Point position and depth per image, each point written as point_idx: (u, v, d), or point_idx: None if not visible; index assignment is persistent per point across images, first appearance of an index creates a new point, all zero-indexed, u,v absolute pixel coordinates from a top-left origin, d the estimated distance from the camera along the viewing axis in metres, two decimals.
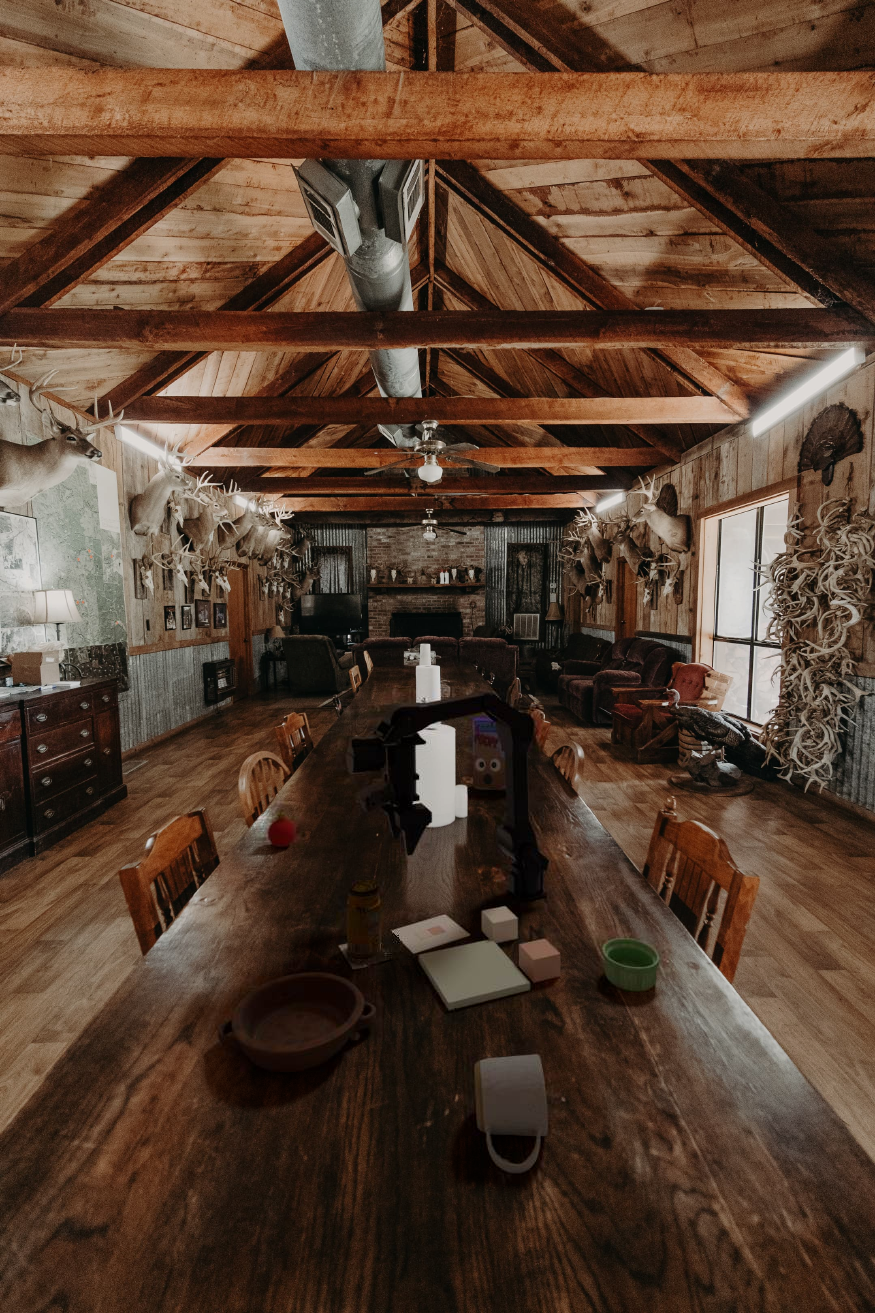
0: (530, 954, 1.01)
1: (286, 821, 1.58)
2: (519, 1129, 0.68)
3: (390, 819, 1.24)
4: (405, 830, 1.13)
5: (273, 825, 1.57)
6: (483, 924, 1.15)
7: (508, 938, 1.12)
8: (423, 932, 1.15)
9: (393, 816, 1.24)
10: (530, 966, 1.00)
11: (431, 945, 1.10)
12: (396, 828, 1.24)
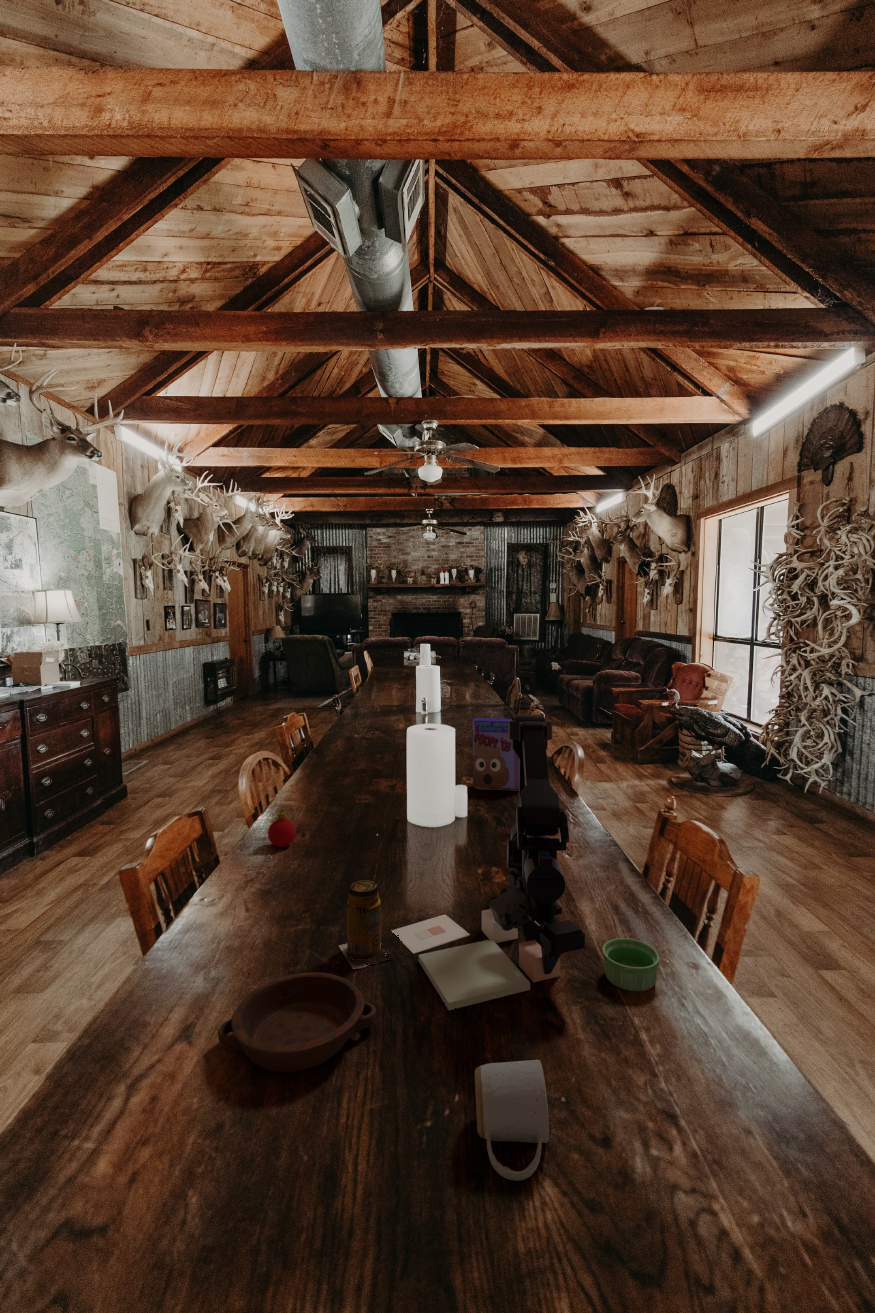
0: (530, 953, 1.01)
1: (286, 821, 1.58)
2: (520, 1136, 0.68)
3: (525, 934, 1.05)
4: None
5: (273, 825, 1.57)
6: (483, 924, 1.15)
7: (508, 938, 1.12)
8: (423, 932, 1.15)
9: (528, 930, 1.05)
10: (529, 965, 1.00)
11: (431, 945, 1.10)
12: None
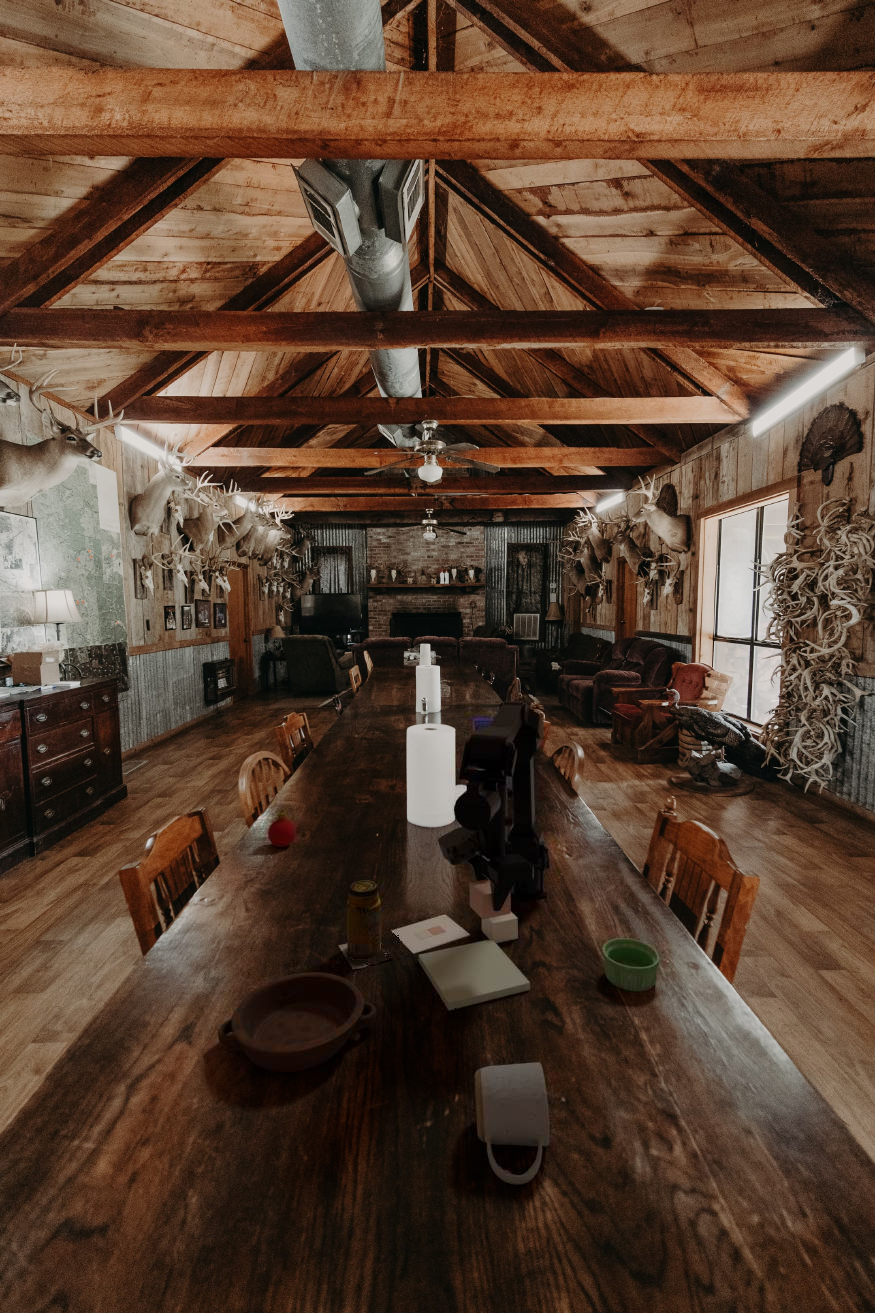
0: (479, 890, 0.99)
1: (286, 821, 1.58)
2: (520, 1139, 0.67)
3: (476, 874, 1.03)
4: (495, 882, 0.95)
5: (273, 825, 1.57)
6: (483, 924, 1.15)
7: (508, 938, 1.12)
8: (423, 932, 1.15)
9: (479, 870, 1.03)
10: (479, 902, 0.98)
11: (431, 945, 1.10)
12: None
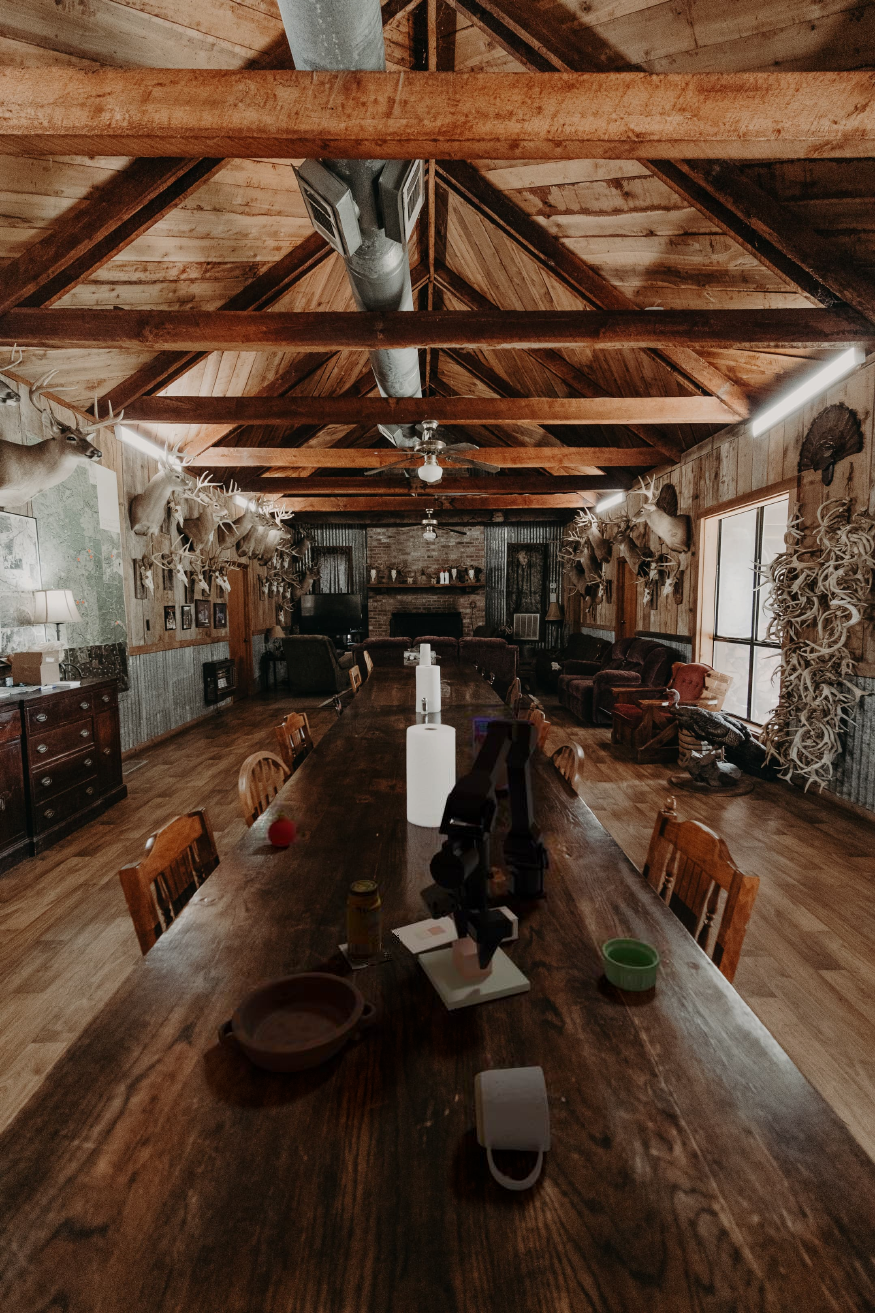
0: (461, 950, 1.00)
1: (286, 821, 1.58)
2: (521, 1144, 0.66)
3: (455, 919, 1.05)
4: (480, 942, 0.95)
5: (273, 825, 1.57)
6: None
7: (508, 938, 1.12)
8: (423, 932, 1.15)
9: (459, 916, 1.05)
10: (461, 962, 0.99)
11: (431, 945, 1.10)
12: (462, 929, 1.05)
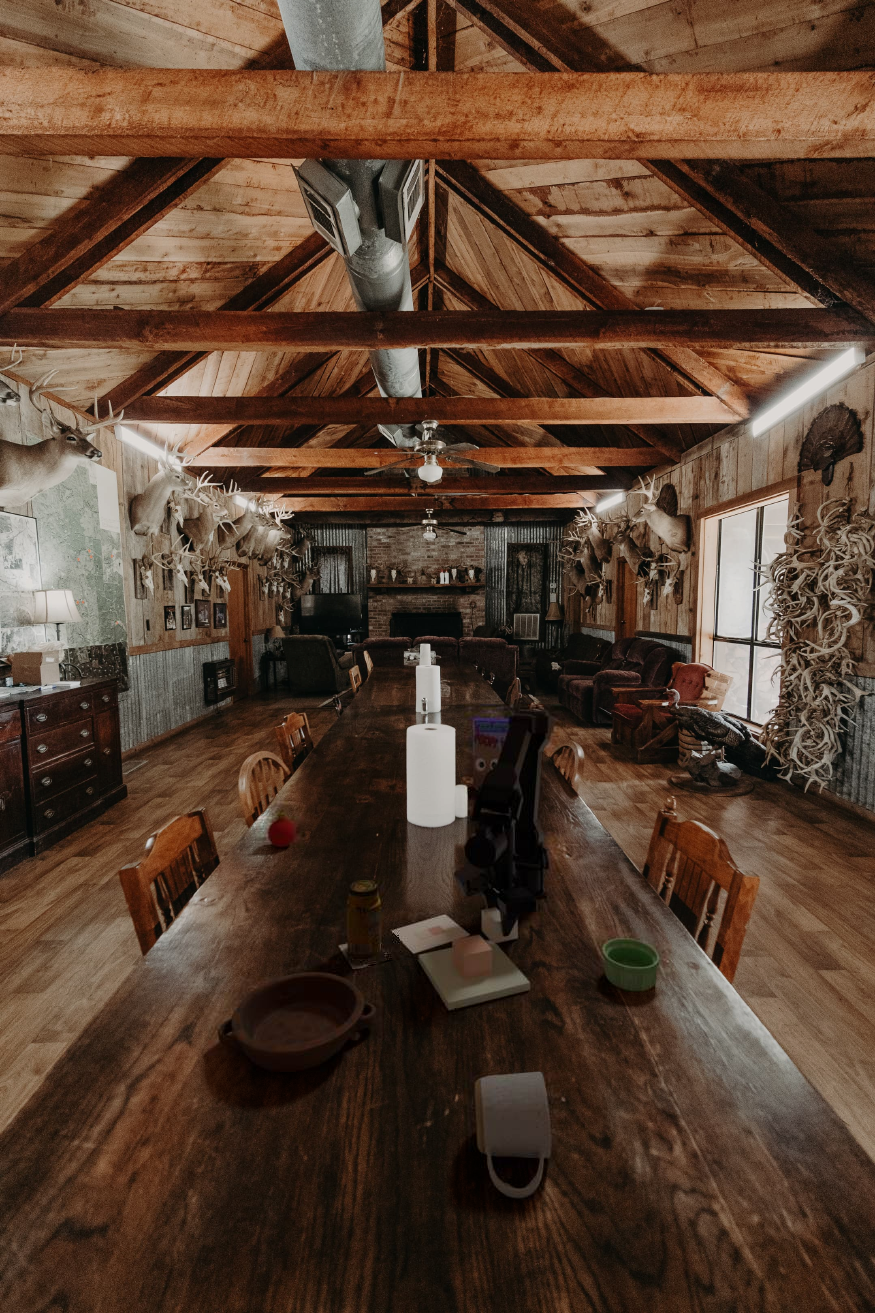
0: (461, 950, 1.00)
1: (286, 821, 1.58)
2: (521, 1151, 0.66)
3: (487, 902, 1.16)
4: None
5: (273, 825, 1.57)
6: (483, 923, 1.15)
7: (508, 937, 1.12)
8: (423, 932, 1.15)
9: (490, 899, 1.17)
10: (461, 962, 0.99)
11: (431, 945, 1.10)
12: None
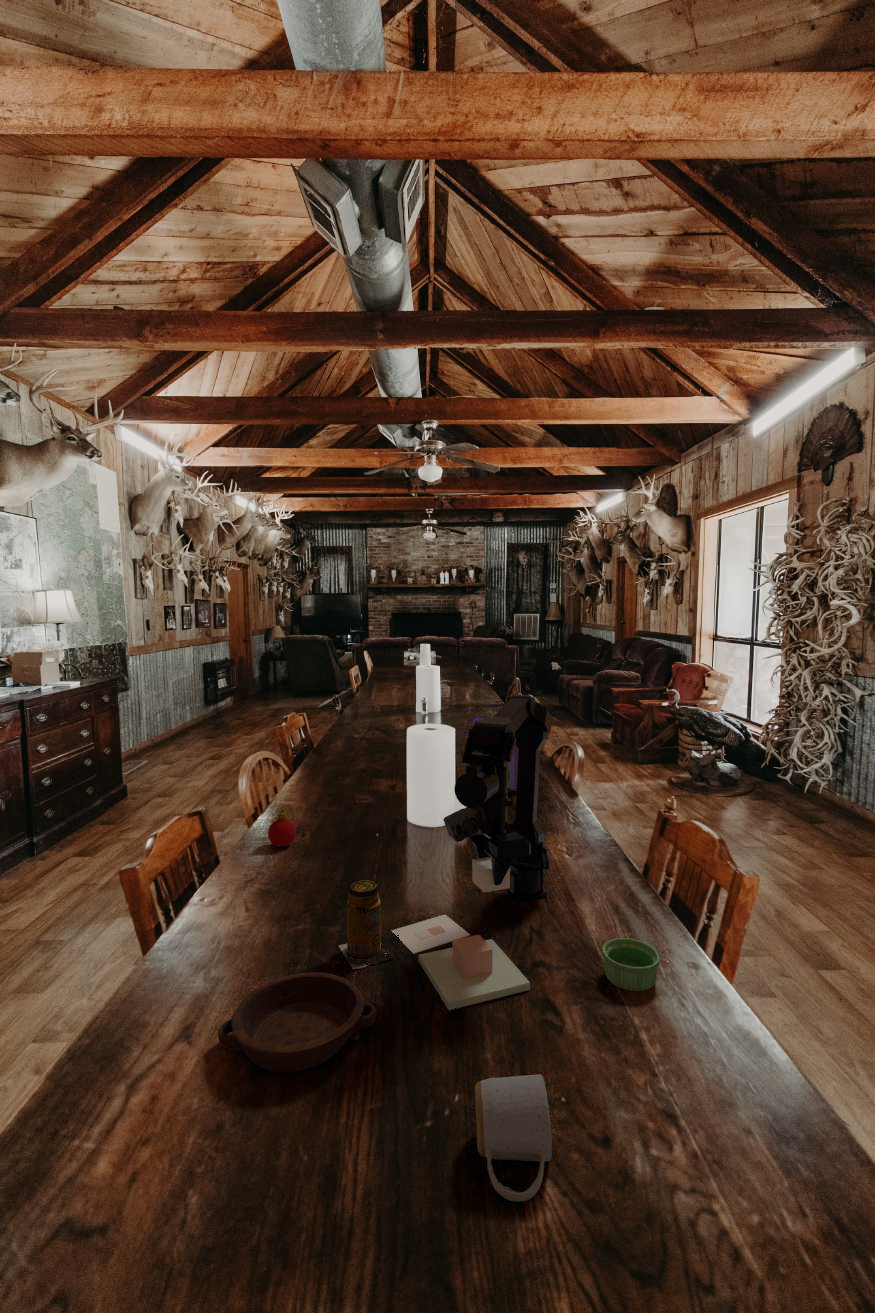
0: (461, 950, 1.00)
1: (286, 821, 1.58)
2: (522, 1154, 0.65)
3: (479, 852, 1.11)
4: (495, 858, 1.04)
5: (273, 825, 1.57)
6: (474, 873, 1.10)
7: (500, 886, 1.07)
8: (423, 932, 1.15)
9: (482, 848, 1.12)
10: (461, 962, 0.99)
11: (431, 945, 1.10)
12: None
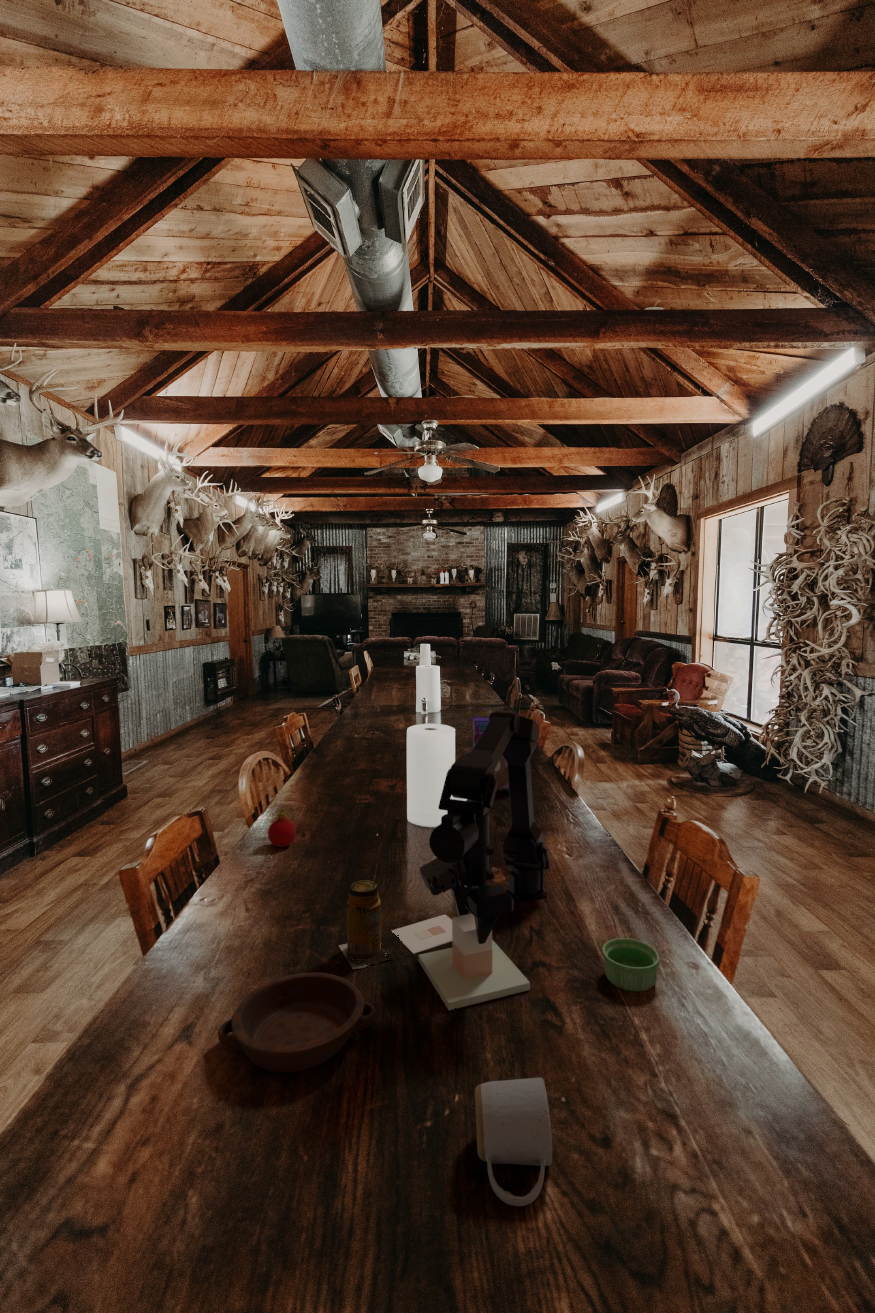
0: None
1: (286, 821, 1.58)
2: (522, 1158, 0.65)
3: (456, 898, 1.04)
4: None
5: (273, 825, 1.57)
6: (454, 932, 1.02)
7: (481, 948, 0.99)
8: (423, 932, 1.15)
9: (460, 894, 1.04)
10: (461, 962, 0.99)
11: (431, 945, 1.10)
12: (463, 908, 1.05)
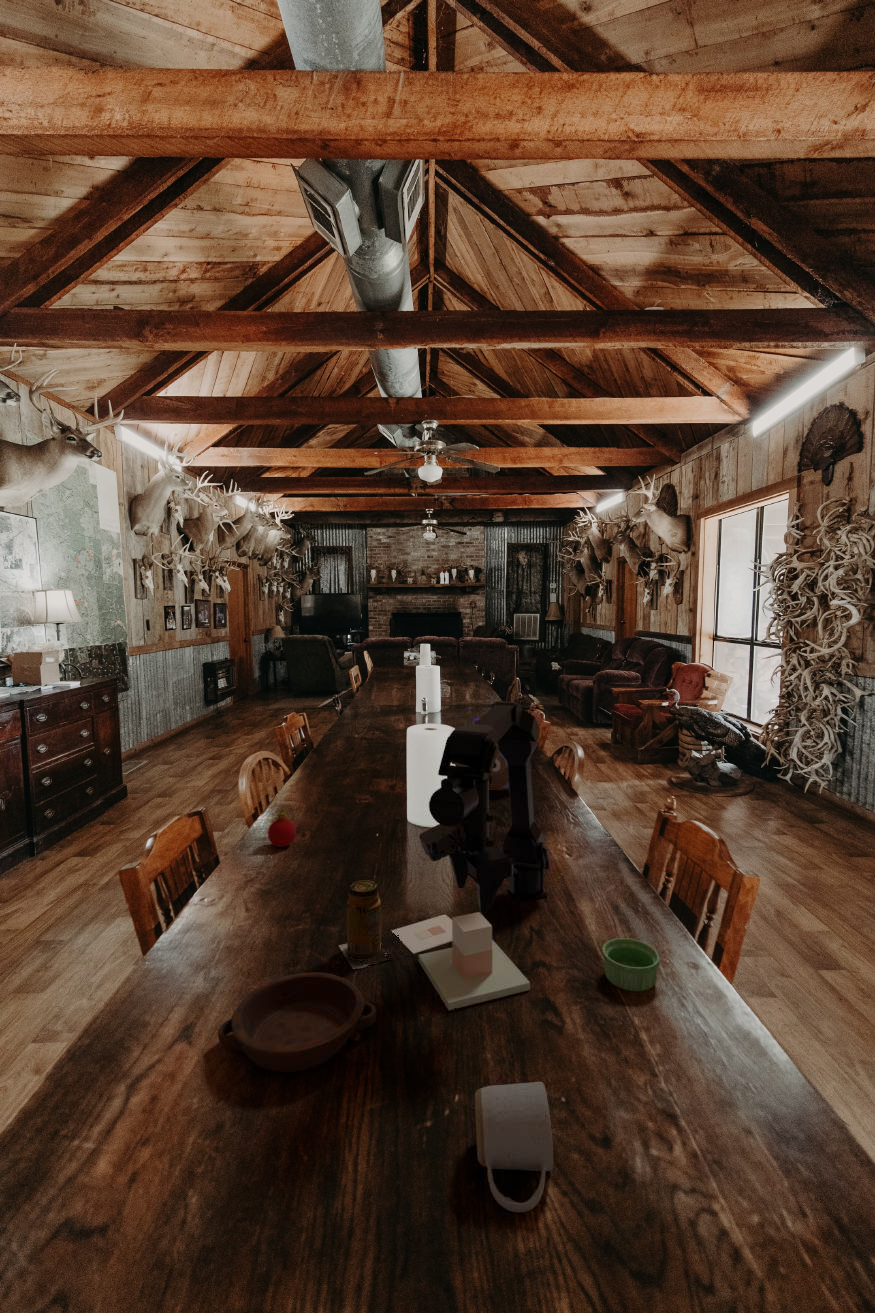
0: None
1: (286, 821, 1.58)
2: (522, 1164, 0.64)
3: (454, 865, 1.04)
4: (480, 884, 0.94)
5: (273, 825, 1.57)
6: (454, 932, 1.02)
7: (481, 948, 0.99)
8: (423, 932, 1.15)
9: (458, 861, 1.05)
10: (461, 962, 0.99)
11: (431, 945, 1.10)
12: (461, 875, 1.05)
